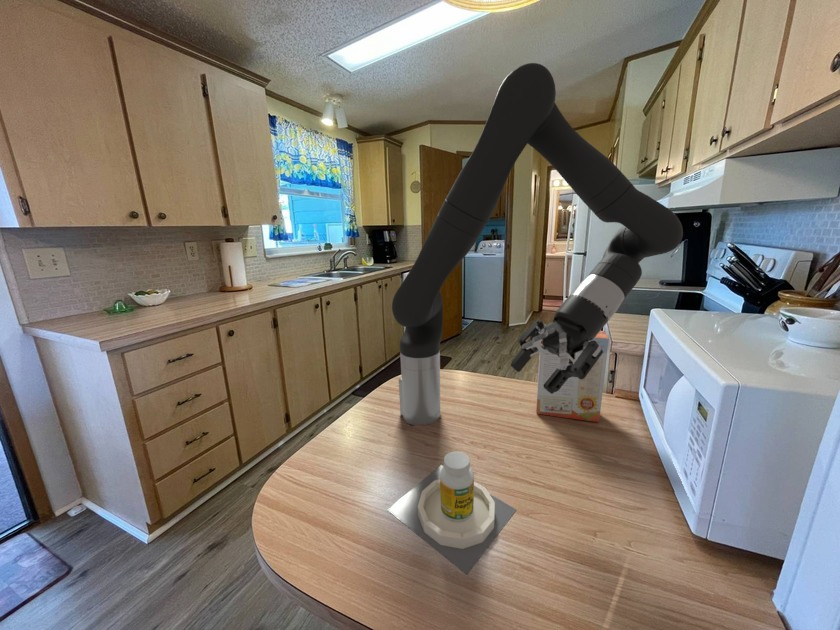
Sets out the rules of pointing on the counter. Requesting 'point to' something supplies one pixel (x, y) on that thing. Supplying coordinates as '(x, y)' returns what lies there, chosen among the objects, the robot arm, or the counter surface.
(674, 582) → the counter surface
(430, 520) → the bowl
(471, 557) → the slate board
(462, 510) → the supplement bottle
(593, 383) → the cracker box
